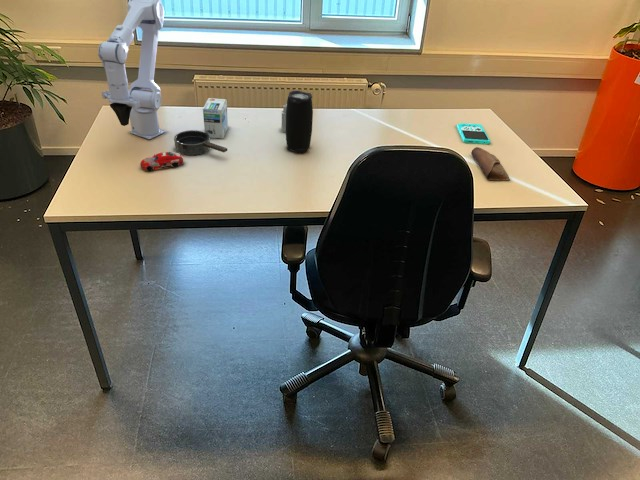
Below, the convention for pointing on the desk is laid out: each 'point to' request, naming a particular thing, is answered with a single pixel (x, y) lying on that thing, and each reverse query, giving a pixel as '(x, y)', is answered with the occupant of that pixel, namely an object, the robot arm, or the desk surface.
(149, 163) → the race car
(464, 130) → the handheld game console
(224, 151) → the pan handle
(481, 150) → the sunglasses case
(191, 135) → the pan
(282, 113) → the power adapter
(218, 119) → the light bulb box
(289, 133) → the portable speaker
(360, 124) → the desk surface
